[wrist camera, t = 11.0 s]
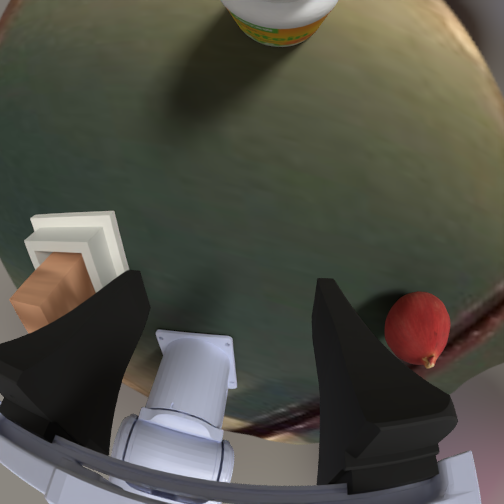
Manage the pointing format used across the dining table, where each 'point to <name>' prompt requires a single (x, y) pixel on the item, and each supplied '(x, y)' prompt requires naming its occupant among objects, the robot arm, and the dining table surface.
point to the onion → (417, 328)
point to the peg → (52, 290)
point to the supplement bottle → (279, 19)
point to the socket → (80, 242)
